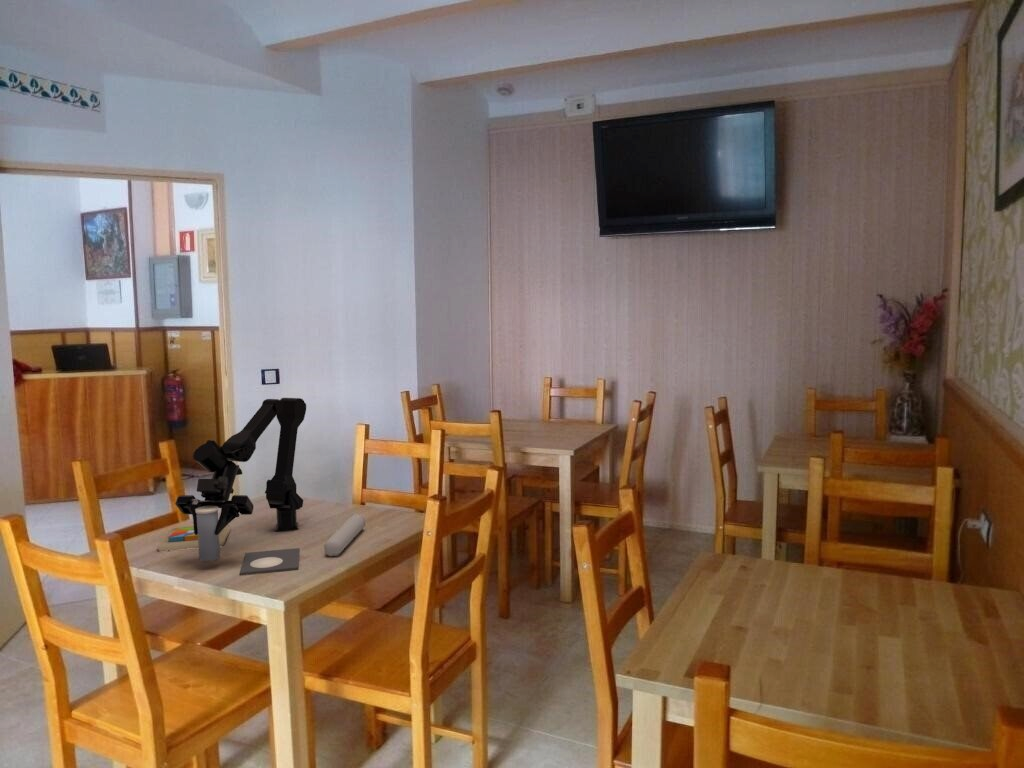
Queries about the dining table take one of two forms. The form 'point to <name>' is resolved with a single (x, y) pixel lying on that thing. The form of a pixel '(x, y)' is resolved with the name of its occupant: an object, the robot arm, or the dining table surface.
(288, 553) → the mat
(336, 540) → the tube
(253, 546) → the dining table surface
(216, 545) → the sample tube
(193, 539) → the wooden puzzle
